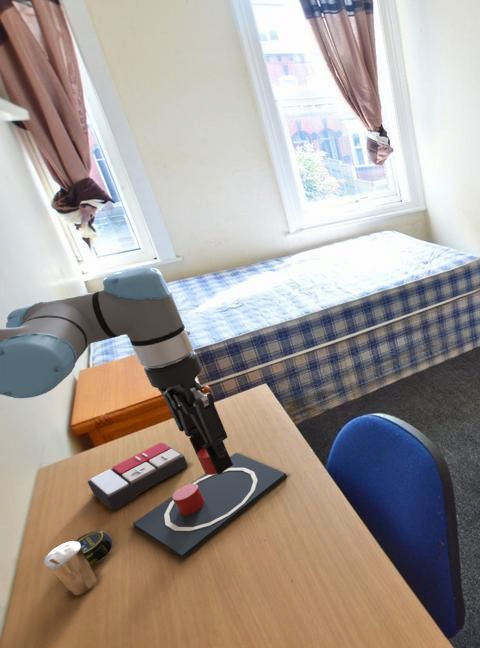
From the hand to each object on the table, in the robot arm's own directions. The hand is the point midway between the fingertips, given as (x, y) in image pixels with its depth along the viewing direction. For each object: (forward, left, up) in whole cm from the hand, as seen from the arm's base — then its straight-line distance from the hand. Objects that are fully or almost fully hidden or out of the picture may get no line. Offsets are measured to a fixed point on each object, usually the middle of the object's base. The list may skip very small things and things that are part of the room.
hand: (217, 465), depth 88 cm
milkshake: (-22, +11, -13) cm, 28 cm away
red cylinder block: (-3, +10, -12) cm, 16 cm away
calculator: (-3, +32, -13) cm, 35 cm away
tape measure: (-19, +17, -13) cm, 28 cm away
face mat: (0, +9, -13) cm, 15 cm away
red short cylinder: (0, 0, 0) cm, 0 cm away
